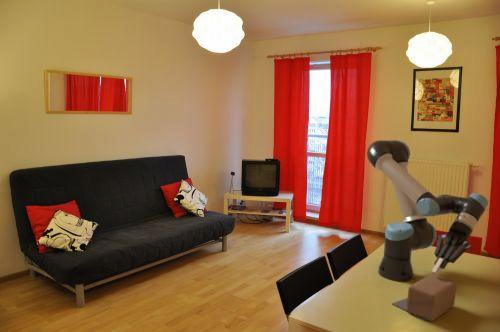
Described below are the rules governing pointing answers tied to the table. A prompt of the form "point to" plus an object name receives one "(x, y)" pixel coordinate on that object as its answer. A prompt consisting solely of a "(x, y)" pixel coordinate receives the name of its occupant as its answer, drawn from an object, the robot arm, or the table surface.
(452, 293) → the wooden block
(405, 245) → the robot arm
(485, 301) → the table surface
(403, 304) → the mat
